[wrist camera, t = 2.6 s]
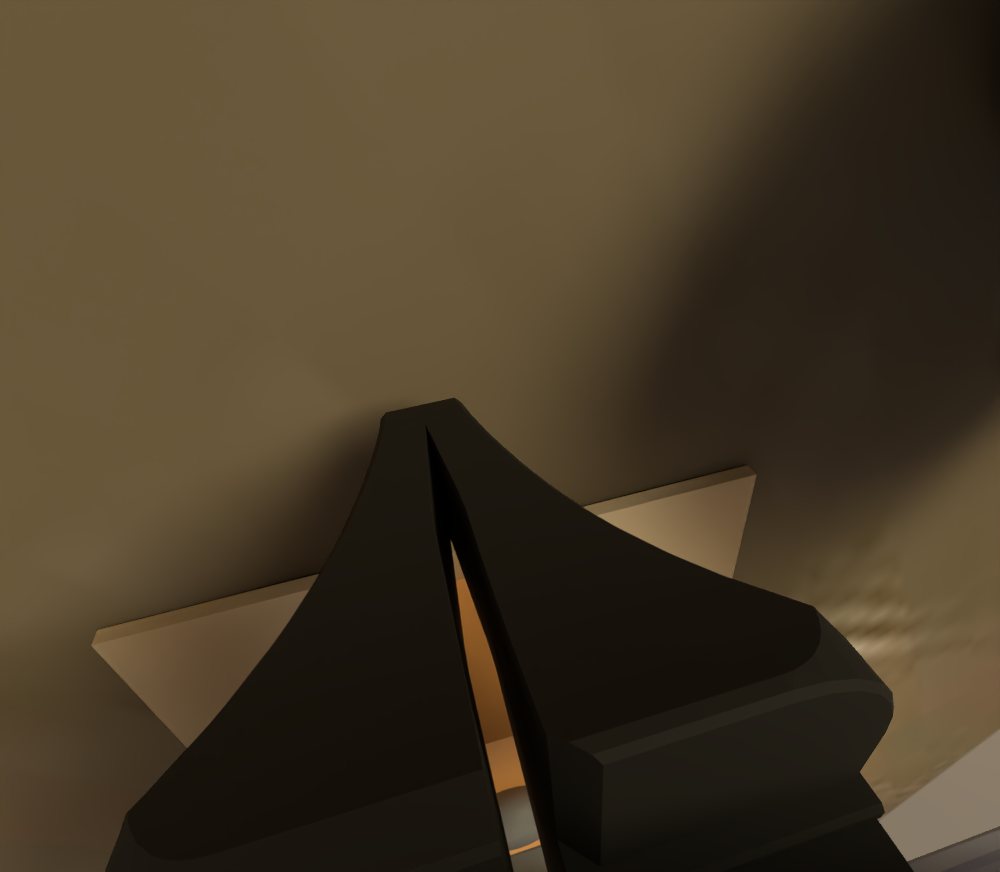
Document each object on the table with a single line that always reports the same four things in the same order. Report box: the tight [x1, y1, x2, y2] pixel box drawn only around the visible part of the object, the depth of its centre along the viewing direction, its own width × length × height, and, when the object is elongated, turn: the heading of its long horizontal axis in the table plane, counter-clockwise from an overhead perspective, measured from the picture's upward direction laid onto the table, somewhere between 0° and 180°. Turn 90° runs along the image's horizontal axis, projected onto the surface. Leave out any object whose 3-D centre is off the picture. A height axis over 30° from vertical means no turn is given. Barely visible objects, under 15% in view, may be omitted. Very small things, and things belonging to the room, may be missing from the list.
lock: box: [456, 578, 541, 855], centre depth 14 cm, size 6×6×5 cm
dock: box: [91, 465, 757, 872], centre depth 17 cm, size 16×19×5 cm
